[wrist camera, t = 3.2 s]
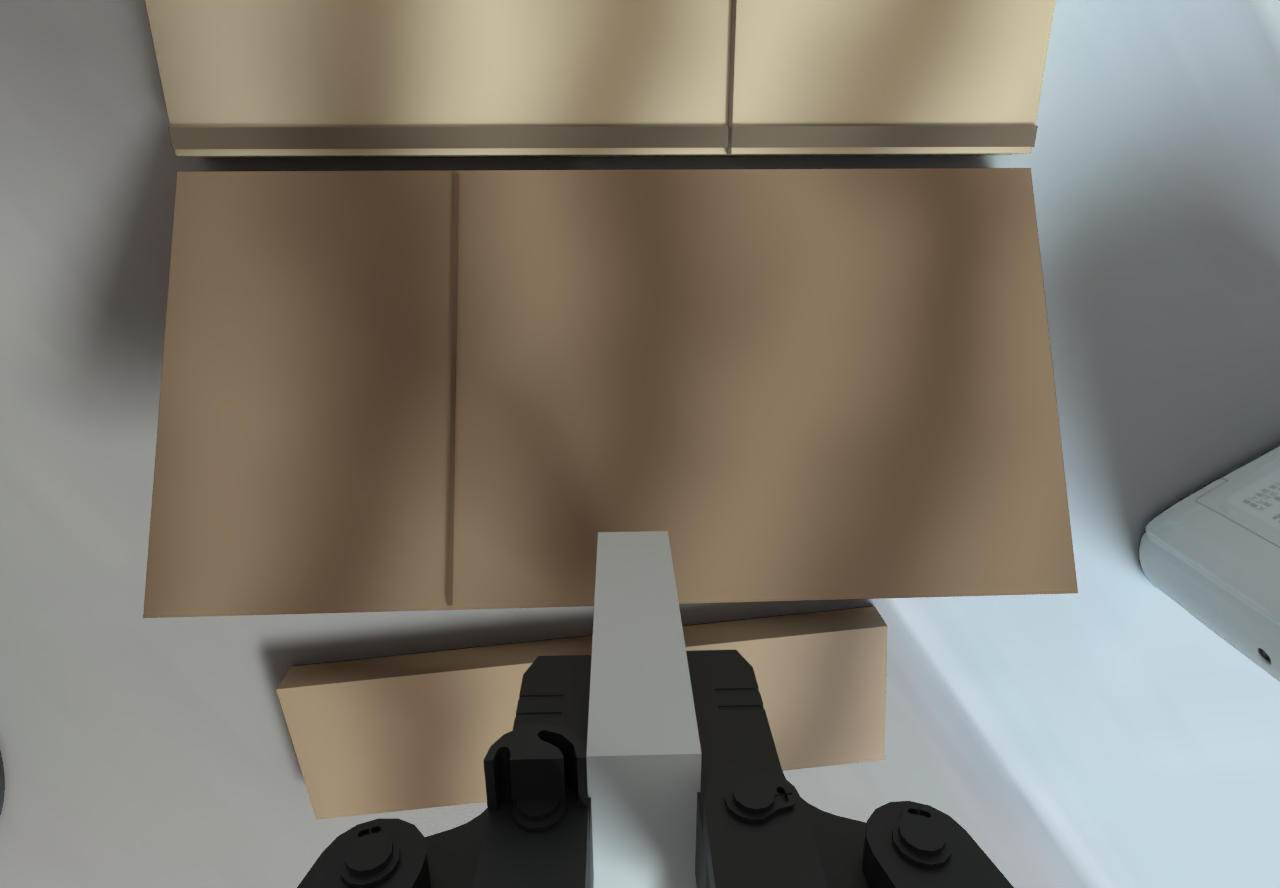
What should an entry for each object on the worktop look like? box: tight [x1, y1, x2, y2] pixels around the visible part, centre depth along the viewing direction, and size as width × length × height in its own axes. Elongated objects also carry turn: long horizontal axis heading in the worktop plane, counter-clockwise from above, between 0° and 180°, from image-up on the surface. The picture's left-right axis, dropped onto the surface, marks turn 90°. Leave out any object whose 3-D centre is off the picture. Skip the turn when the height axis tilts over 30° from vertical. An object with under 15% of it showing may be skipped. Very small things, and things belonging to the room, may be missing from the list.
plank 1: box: [143, 168, 1078, 618], centre depth 19 cm, size 22×11×1 cm, turn 90°
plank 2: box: [276, 606, 887, 819], centre depth 25 cm, size 20×6×1 cm, turn 95°
